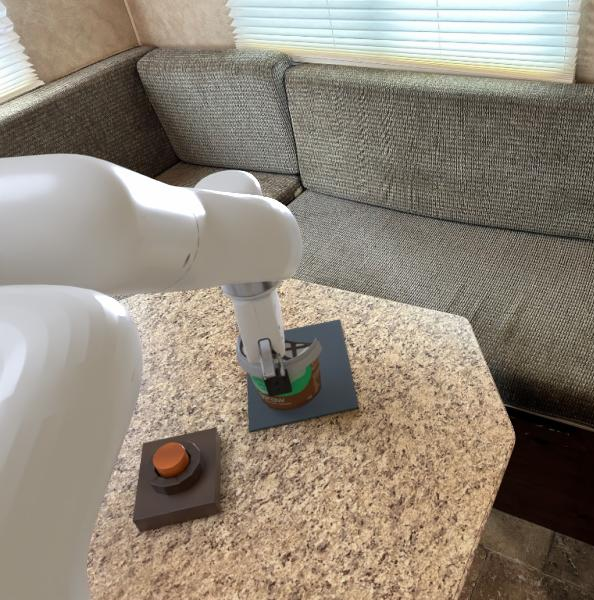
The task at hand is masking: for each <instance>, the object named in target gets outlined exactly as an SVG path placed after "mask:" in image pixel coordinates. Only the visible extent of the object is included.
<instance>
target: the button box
mask: <svg viewBox="0 0 594 600" xmlns="http://www.w3.org/2000/svg"><path fill="white" fill-rule="evenodd" d="M169 443H179V444H181V445H182V446H183V447H184V449H185V451H186V453H187V455H188V457H189V464H188V467H187V468H186V470H185V471H184V472H182V473H181V474H179V475H178V476H176V477H172V478H165V477H162V476H161V475H160V474H159V473H158V471H157V469H156V467H155V466H154V464H153V456H154V454H155V453H156V451H157V450H158V449H159V448H160V447H162V446H164V445H166V444H169ZM136 484H137V485H136V493H135V499H134V507H133V514H132V522H133V524H134V526H135V527H136V528H137V530H138V531H139V533H142V532H147V531H151V530H155V529H159V528H163V527H169V526H172V525H176V524H180V523H185V522H188V521H193V520H199V519H202V518H206V517H211V516H215V515H219V514H221V501H222V500H221V496H222V495H221V494H222V492H221V490H222V489H221V487H222V485H221V484H222V437H221V435H220V433H219V430H218V428H217V427H211V428H207V429H206V428H205V429H202V430H201V429H200V430H197V431H193V432H187V433H184V434H179V435H174V436H170V437H165V438H161V439H155V440H152V441H147V442H143V443H142V447H141V454H140V463H139V470H138V477H137V483H136Z"/></svg>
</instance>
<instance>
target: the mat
mask: <svg viewBox="0 0 594 600" xmlns="http://www.w3.org/2000/svg"><path fill="white" fill-rule="evenodd" d="M284 336H285V340H288V341H294V342H303V343H310V342H311V343H313V342H314V340H315V338H316V339H317V341H319V343H320V345H321V347H322V351H321V353H320V354H319V366H320V376H321V390H320V392H319V393H318V395H317V396H316V397H315V398H314V399H313V400H312V401H311V402H309V403H308V404H306V405H304V406H302V407H300V408H297V409H293V410H287V411H280V410H275V409H272V408H270V407H268V406H267V405H266V404H265V403H263V401H262V399H261V397H260V395H259V393H258V391H257V389H256V387H255V385H254V383H253V381H252V379H251V377H250V374H249V373H247V372H246V378H247V379H246V385H247V386H246V387H247V412H248V413H247V415H248V416H247V417H248V433H254V432H260V431H263V430H268V429H273V428H278V427H282V426H286V425H291V424H296V423H300V422H304V421H305V422H306V421H310V420H314V419H318V418H319V419H320V418H323V417H327V416H328V417H329V416H332V415H337V414H341V413H346V412H350V411H355V410H360V406H359V405H360V404H359V400H358V396H357V392H356V391H357V390H356V388H355V382H354V378H353V374H352V368H351V364H350V360H349V355H348V350H347V346H346V341H345V337H344V331H343V327H342V323H341V319H340V318H339V319H332V320H328V321H325V322H318V323H314V324H308V325H305V326H299V327H294V328H290V329H284Z"/></svg>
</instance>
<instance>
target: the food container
mask: <svg viewBox="0 0 594 600" xmlns="http://www.w3.org/2000/svg"><path fill="white" fill-rule="evenodd" d="M321 351H322V347H321V345H320V343H319V341H317V339H316V338H315V340H314V342H313V343H311V342H310V343H303V342H294V341H288V340H285V355H284V356H283V357H282V360H283V364H284V369H287V371H288V375H289V379H290V382H291V386H292V392H291V393H287V394H282V395H277V396H273V397H270V396H269V395H268V392H267V389H266V386H265V383H264V380H263V375H262V374H263V373H262V369H261V364H260V360H259V359H258V363H254V364H250V363H249V362H248V360H247V356H246V353H245V349H244V346H243V342H242V338H241V335H240V332H239V333H238V336H237V338H236V344H235V353H236V354H235V355H236V359H237V360H236V361H237V363H238V365H239V367H240V368H241V370H243V371H244V372H245V373H246V374H247V373H249V374H250V377H251V379H252V381H253V383H254V385H255V387H256V389H257V391H258V393H259V395H260V397H261V399H262V401H263V403H265V404H266V405H267V406H268V407H270V408H272V409H275V410H280V411H287V410H293V409H297V408H300V407H302V406H304V405H306V404H308V403H309V402H311V401H312V400H313V399H314V398H315V397H316V396H317V395H318V393H319V392H320V390H321V376H320V366H319V354H320V353H321ZM274 352H275V351H274V350H273V348H272V353H274ZM273 360H274V365H275V368H279V364H278V360H277V359H273Z"/></svg>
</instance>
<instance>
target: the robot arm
mask: <svg viewBox="0 0 594 600" xmlns="http://www.w3.org/2000/svg"><path fill="white" fill-rule="evenodd" d="M303 248H304V247H303V236H302V233H301V229H300V226H299V224H298V221H297V219H296V217H295V216H294V214H293V213H292V211H291V210H290V209H289V208H288V207H287V206H286V205H285V204H282V202H279V201H278V200H276V199H273V198H270V197H265V196H264V195H263V191H262V188H261V184H260V183H259V182H258V179H257V178H256V177H255V176H254V175H252V174H251V173H249V172H246V171H243V170H238V169H229V170H228V169H227V170H221V171H216V172H214V173H210V174H208V175H207V176H205V177H203V178H202V179H200V180H199V181H198V182H197V183H196V184H195V186H194V187H186V186H175V185H170V184H168V183H165V182H162V181H160V180H156V179H153V178H151V177H149V176H147V175H143V174H141V173H139V172H136V171H134V170H131V169H129V168H127V167H124V166H121V165H118V164H116V163H113V162H110V161H108V160H105V159H103V158H102V159H101V158H97V157H95V156H90V155H85V154H79V153H45V154H33V155H24V156H23V155H22V156H20V155H19V156H11V157H0V600H93V599H92V598H93V597H92V595H91V591H90V584H89V577H88V559H89V558H88V557H89V552H90V548H91V543H92V539H93V533H94V529H95V525H96V523H97V520H98V516H99V513H100V510H101V507H102V505H103V501H104V498H105V495H106V492H107V489H108V487H109V485H110V481H111V479H112V476H113V474H114V470H115V467H116V464H117V462H118V459H119V456H120V453H121V451H122V447H123V445H124V443H125V442H124V441H125V439H126V436H127V434H128V431H129V427H130V425H131V422H132V419H133V416H134V413H135V410H136V407H137V404H138V400H139V397H140V391H141V386H142V378H143V365H144V364H143V363H144V359H143V347H142V342H141V337H140V333H139V329H138V326H137V323H136V322H135V319H134V318H133V317H132V315H131V313H130V311H129V310H128V309H127V308H126V307H124V306H123V305H122V303H120V302H119V301H118V300H116V298H114V296H116V297H117V296H128V295H129V296H131V295H144V294H145V295H149V294H167V293H177V292H178V293H179V292H189V291H199V290H205V289H211V288H216V287H220V289H221V292H222V294H224V296H226V298H228V299H231V303H232V306H233V307H232V308H233V310H234V315H235V319H236V324H237V326H238V327H237V328H238V331H239V333H240V335H241V338H242V342H243V346H244V349H245V353H246V356H247V360H248V362H249V363H250V364H254V363H258V359H259V360H260V364H261V369H262V373H263V374H262V375H263V380H264V383H265V386H266V389H267V392H268V395H269V396H270V397H273V396H277V395H282V394H287V393H291V392H292V386H291V382H290V379H289V375H288V371H287V369H284V364H283V360H282V357H283V356H284V355H285V336H284V330H285V327H284V320H283V312H282V307H281V306H282V305H281V300H280V297H279V293H278V290H277V289H278V287H279V286H280V285H281V283H282V281H285V280H290V279H291V278H292V277H293V276H294V275H295V274H296V273H297V272H298V270H299V268H300V265H301V262H302V257H303V251H304V250H303ZM272 348H273V350H274V351H275V352H274V353H272ZM273 359H277V360H278V364H279V368H275V365H274V360H273Z"/></svg>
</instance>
